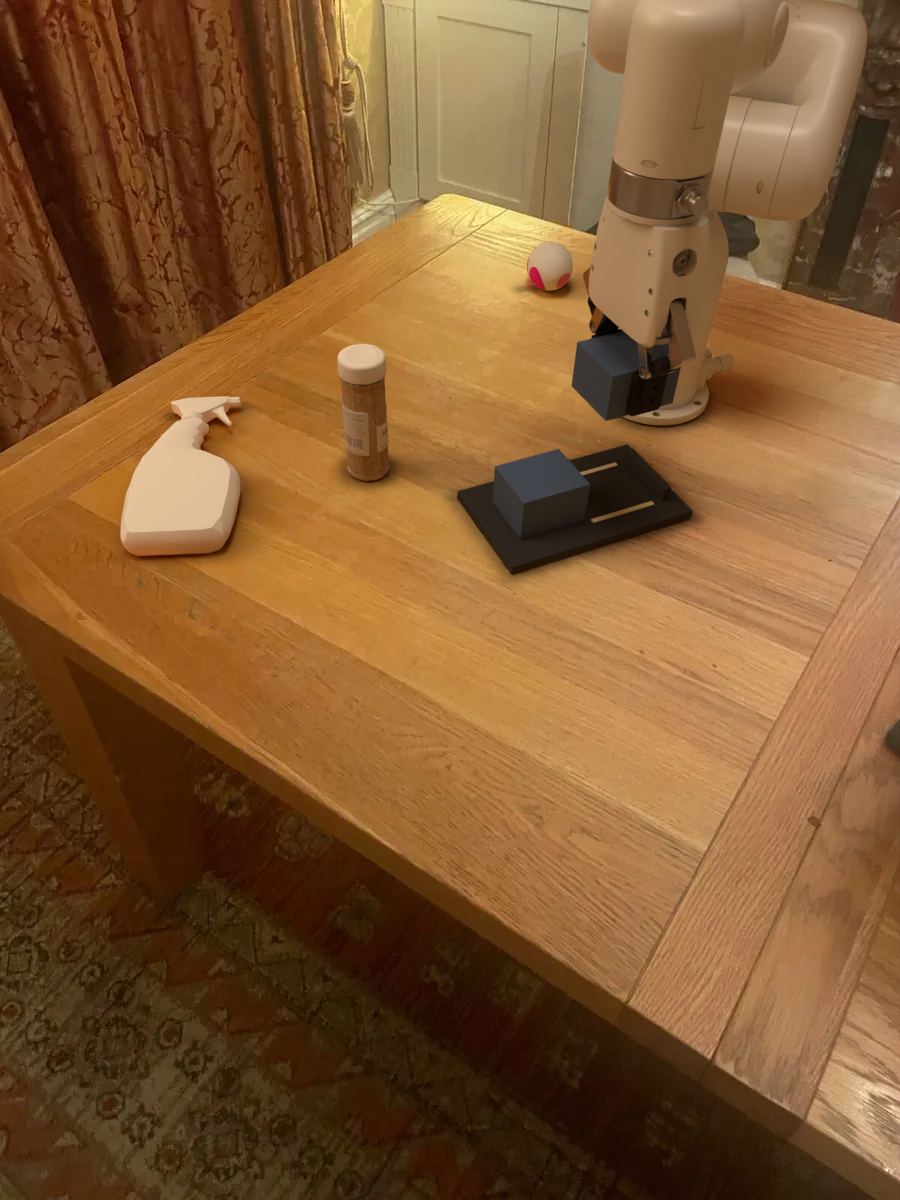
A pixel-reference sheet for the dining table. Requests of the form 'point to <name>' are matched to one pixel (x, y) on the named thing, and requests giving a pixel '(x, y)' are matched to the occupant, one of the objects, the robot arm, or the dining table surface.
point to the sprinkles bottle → (364, 410)
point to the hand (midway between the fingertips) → (622, 389)
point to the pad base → (598, 504)
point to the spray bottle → (182, 487)
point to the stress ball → (549, 266)
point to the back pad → (612, 373)
